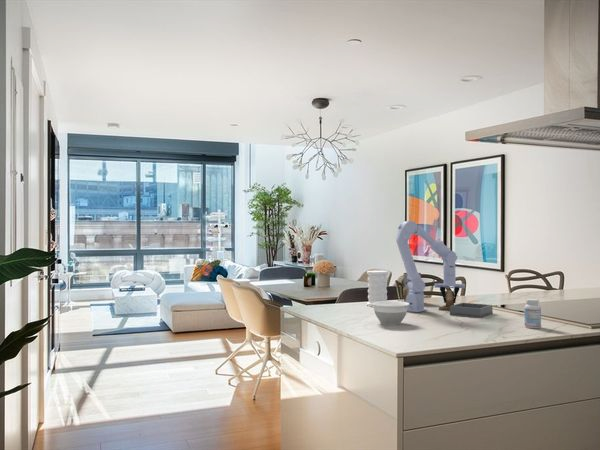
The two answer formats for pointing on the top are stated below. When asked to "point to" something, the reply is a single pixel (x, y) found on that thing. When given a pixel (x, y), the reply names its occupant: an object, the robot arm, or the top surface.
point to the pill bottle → (532, 314)
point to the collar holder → (444, 308)
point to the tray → (471, 310)
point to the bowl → (390, 311)
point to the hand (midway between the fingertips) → (449, 302)
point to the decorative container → (377, 286)
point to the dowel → (449, 298)
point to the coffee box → (406, 289)
